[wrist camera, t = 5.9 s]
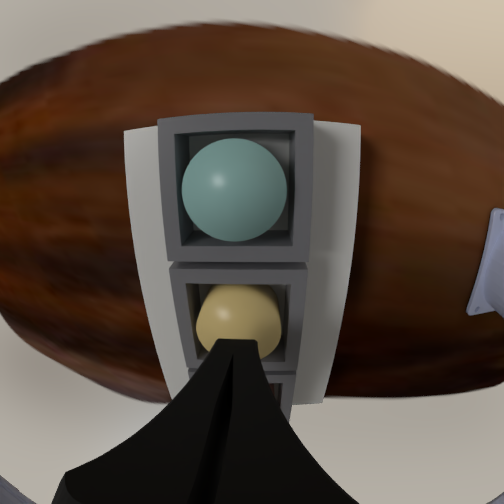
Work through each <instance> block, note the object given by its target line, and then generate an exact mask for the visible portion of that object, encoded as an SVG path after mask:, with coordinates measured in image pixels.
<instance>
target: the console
mask: <svg viewBox="0 0 504 504" xmlns="http://www.w3.org/2000/svg"><path fill="white" fill-rule="evenodd" d="M231 138H237V139H245V140H249V141H252V142H255V143H257V144H259V145H261V146H262V147H264V148H265V149H267V150H268V151H269V152H270V153H271V154H272V155H273V156H274V157H275V158H276V159H277V161H278V162H279V164H280V166H281V168H282V170H283V172H284V175H285V178H286V184H287V197H286V202H285V206H284V208H283V211H282V213H281V215H280V217H279V218H278V220H277V221H276V222H275V224H274V225H273V226H272V227H271V228H270V229H268V230H267V231H266V232H264V233H263V234H261V235H260V236H257V237H255V238H253V239H249V240H245V241H237V242H232V241H224V240H220V239H217V238H214V237H212V236H210V235H208V234H206V233H205V232H203V231H202V230H201V229H200V228H198V227H197V225H196V224H195V223H194V222H193V221H192V220H191V218H190V217H189V215H188V213H187V211H186V209H185V206H184V202H183V198H182V182H183V177H184V173H185V171H186V169H187V166H188V165H189V163H190V161H191V160H192V159H193V157H194V156H195V155H196V154H197V153H198V152H199V151H200V150H202V149H203V148H204V147H206V146H208V145H209V144H211V143H214V142H216V141H219V140H223V139H231ZM360 142H361V125H354V124H345V123H336V122H324V121H313V114H309V113H288V112H235V113H215V114H201V115H189V116H180V117H171V118H163V119H158V126H153V127H147V128H140V129H134V130H128V131H124V148H125V168H126V182H127V193H128V203H129V212H130V221H131V228H132V236H133V242H134V249H135V255H136V261H137V267H138V272H139V278H140V283H141V288H142V293H143V297H144V302H145V306H146V311H147V315H148V319H149V323H150V327H151V331H152V335H153V339H154V343H155V346H156V350H157V354H158V357H159V361H160V364H161V367H162V371H163V374H164V377H165V380H166V383H167V386H168V389H169V392H170V395H171V398H172V399H173V398H174V397H175V396H176V395H177V394H178V393H179V392H180V390H181V389H182V388H183V387H184V386H185V385H186V383H187V382H188V381H189V380H190V378H191V377H192V376H193V374H194V373H195V372H196V370H197V369H198V368H199V366H200V365H201V363H202V362H203V361H204V359H205V358H206V356H207V355H208V353H209V351H208V350H207V349H206V348H205V347H204V346H203V345H202V344H201V342H200V340H199V338H198V335H197V331H196V324H197V319H198V316H199V313H200V311H201V308H202V305H203V302H204V299H205V296H206V294H207V292H208V290H209V288H210V287H211V286H212V285H213V284H269V285H270V286H271V288H272V289H273V290H274V292H275V293H276V295H277V298H278V302H279V311H280V322H281V338H280V341H279V343H278V345H277V346H276V348H275V349H274V350H273V351H272V352H271V353H270V354H269V355H267V356H266V357H264V358H262V359H260V360H261V363H262V366H263V369H264V372H265V375H266V378H267V380H268V383H274V393H275V399H276V401H277V403H278V405H279V407H280V408H281V410H282V412H283V414H284V416H285V417H286V419H287V421H288V423H289V419H290V413H291V407H292V405H299V404H314V403H322V402H323V398H324V395H325V391H326V387H327V383H328V380H329V376H330V372H331V368H332V364H333V359H334V355H335V351H336V346H337V342H338V337H339V332H340V327H341V322H342V317H343V312H344V306H345V301H346V295H347V289H348V283H349V276H350V269H351V262H352V254H353V246H354V238H355V228H356V218H357V206H358V192H359V175H360Z"/></svg>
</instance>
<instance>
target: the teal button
mask: <svg viewBox="0 0 504 504" xmlns="http://www.w3.org/2000/svg"><path fill="white" fill-rule="evenodd" d="M286 197H287V184H286V178H285V175H284V172H283V170H282V168H281V166H280V164H279V162H278V161H277V159H276V158H275V157H274V156H273V155H272V154H271V153H270V152H269V151H268V150H267V149H265V148H264V147H262V146H261V145H259V144H257V143H255V142H252V141H249V140H245V139H237V138H231V139H223V140H219V141H216V142H214V143H211V144H209V145H208V146H206V147H204V148H203V149H202V150H200V151H199V152H198V153H197V154H196V155H195V156H194V157H193V159H192V160H191V161H190V163H189V165H188V166H187V169H186V171H185V173H184V177H183V182H182V198H183V202H184V206H185V209H186V211H187V213H188V215H189V217H190V218H191V220H192V221H193V222H194V223H195V224H196V225H197V227H198V228H200V229H201V230H202V231H203V232H205V233H206V234H208V235H210V236H212V237H214V238H217V239H220V240H224V241H232V242H237V241H245V240H249V239H253V238H255V237H257V236H260V235H261V234H263V233H264V232H266V231H267V230H268V229H270V228H271V227H272V226H273V225H274V224H275V222H276V221H277V220H278V218H279V217H280V215H281V213H282V211H283V208H284V206H285V202H286Z"/></svg>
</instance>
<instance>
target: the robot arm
mask: <svg viewBox="0 0 504 504" xmlns="http://www.w3.org/2000/svg"><path fill="white" fill-rule="evenodd" d="M495 310H496V311H497V312H498V313H499V314H500V315H501V316H502V317H503V318H504V209H500V208H494V209H493V210H492V212H491V216H490V222H489V228H488V233H487V238H486V243H485V247H484V252H483V256H482V260H481V264H480V267H479V271H478V275H477V278H476V281H475V285H474V288H473V291H472V294H471V297H470V300H469V303H468V306H467V309H466V312H467V313H468V314H469V315H475V314H480V313H485V312H490V311H495ZM0 504H36V503H35V502H33V501H31V500H30V499H29V498H27V497H26V496H25V495H23V494H22V493H20V492H19V490H18V489H17V488H15V487H14V486H13V485H12V484H10V483H9V482H8V481H7V480H5V479H4V478H3V477H2V476H0ZM52 504H359V503H358V502H357V501H356V500H354V499H353V498H352V497H351V496H350V495H348V494H347V493H346V492H345V491H344V490H343V489H342V488H341V487H340V486H339V485H338V484H337V483H336V482H335V481H334V480H333V479H332V478H331V477H330V476H329V475H328V474H327V473H326V472H325V471H324V470H323V469H322V467H321V466H320V465H319V464H318V463H317V461H316V460H315V459H314V458H313V457H312V455H311V454H310V453H309V451H308V450H307V449H306V448H305V446H304V445H303V444H302V442H301V441H300V439H299V438H298V436H297V435H296V434H295V432H294V431H293V429H292V427H291V426H290V424H289V423H288V421H287V419H286V417H285V416H284V414H283V412H282V410H281V408H280V407H279V405H278V403H277V401H276V399H275V397H274V394H273V392H272V390H271V388H270V385H269V383H268V380H267V378H266V375H265V372H264V369H263V366H262V363H261V360H260V355H259V350H258V342H257V341H256V340H255V339H223V338H219V339H217V340H216V341H215V343H214V345H213V346H212V348H211V350H210V351H209V353H208V355H207V356H206V358H205V359H204V361H203V362H202V363H201V365H200V366H199V368H198V369H197V370H196V372H195V373H194V374H193V376H192V377H191V378H190V380H189V381H188V382H187V383H186V385H185V386H184V387H183V388H182V389H181V390H180V392H179V393H178V394H177V395H176V396H175V397H174V398H173V400H172V401H171V402H170V403H169V404H168V405H167V406H166V407H165V408H164V409H163V410H162V411H161V412H160V413H159V414H158V415H156V416H155V417H154V418H153V419H152V420H151V421H150V422H149V423H148V424H146V425H145V426H144V427H143V428H141V429H140V430H139V431H138V432H136V433H135V434H134V435H132V436H131V437H130V438H128V439H127V440H125V441H124V442H122V443H121V444H119V445H118V446H116V447H114V448H113V449H111V450H110V451H108V452H106V453H105V454H103V455H102V456H99V457H98V458H96V459H94V460H92V461H90V462H87V463H85V464H83V465H81V466H79V467H76V468H74V469H72V470H69V471H67V472H65V474H64V476H63V478H62V479H61V481H60V483H59V486H58V489H57V491H56V493H55V496H54V499H53V501H52ZM487 504H504V492H503V493H502V494H500V495H499V496H498V497H497V498H495V499H494V500H492V501H491V502H489V503H487Z"/></svg>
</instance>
